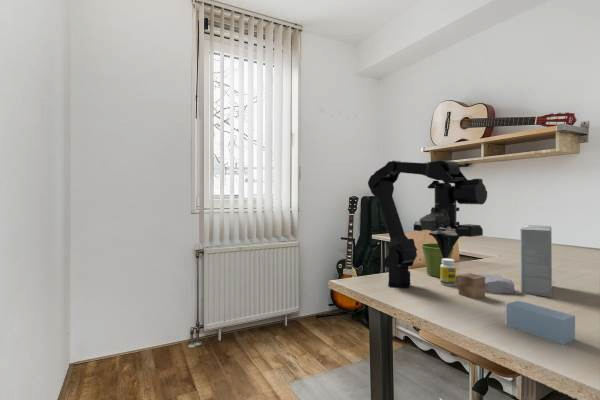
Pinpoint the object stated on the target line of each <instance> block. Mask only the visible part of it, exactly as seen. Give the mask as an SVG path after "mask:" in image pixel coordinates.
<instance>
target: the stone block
mask: <svg viewBox="0 0 600 400" xmlns="http://www.w3.org/2000/svg"><path fill="white" fill-rule="evenodd" d="M478 275H480V276H484V277H485V293H487V294H489V293H490V294H507V293H508V294H514V293H515V284H514V281H513V280H511V278H505V277H502V275H501V274H497V275H496V274H488V273H480V274H478Z"/></svg>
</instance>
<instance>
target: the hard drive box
mask: <svg viewBox="0 0 600 400" xmlns="http://www.w3.org/2000/svg"><path fill="white" fill-rule="evenodd" d="M519 235H520V240H519V241H520V293H522V294H525V295H526V294H527V295H535V296H541V297H542V296H543V297H547V298H551V297H552V291H553V290H552V288H553V287H552V286H553V264H552V263H553V262H552V260H553V259H552V258H553V255H552V254H553V253H552V251H553V249H552V248H553V247H552V240H553V239H552V237H553V236H552V226H551V225H534V224H524V225H522V227H521V228H520V232H519Z"/></svg>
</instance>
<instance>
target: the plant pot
mask: <svg viewBox="0 0 600 400" xmlns="http://www.w3.org/2000/svg"><path fill="white" fill-rule="evenodd" d="M420 247H421V248H422V252H423V256H424V262H425V268H426V274H427V275H428V276H430V275H431V276H433V277H435V278H440V266H441V264H442V259H444V258H443V256H442V253H441V251H440V248H439V245H438V243H437V242H429V243H428V242H426V243H421V244H420ZM455 247H456V246H455V245H454V247H453V249H452V250H451V252H450V254H449V256H448V258H447V259H452V255H453V252H454V249H455Z"/></svg>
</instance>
